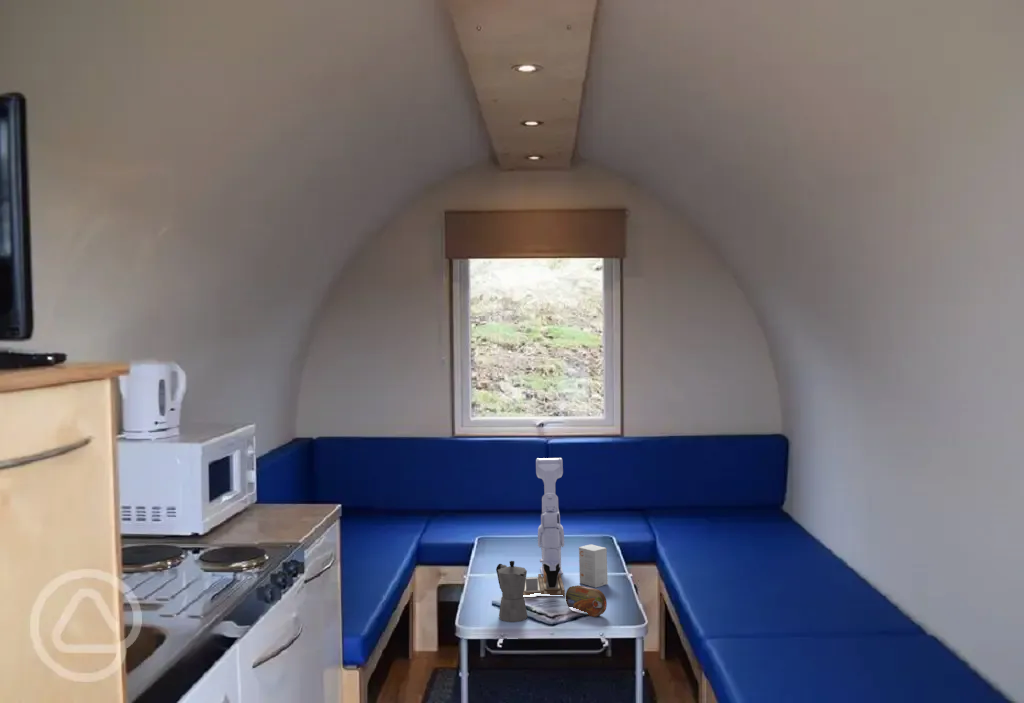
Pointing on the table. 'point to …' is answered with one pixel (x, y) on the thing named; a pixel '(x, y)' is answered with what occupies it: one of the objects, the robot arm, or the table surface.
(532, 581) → the strip
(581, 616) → the table surface
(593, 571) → the small box
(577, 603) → the tin
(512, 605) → the coffeepot
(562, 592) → the lane board
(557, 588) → the strip
